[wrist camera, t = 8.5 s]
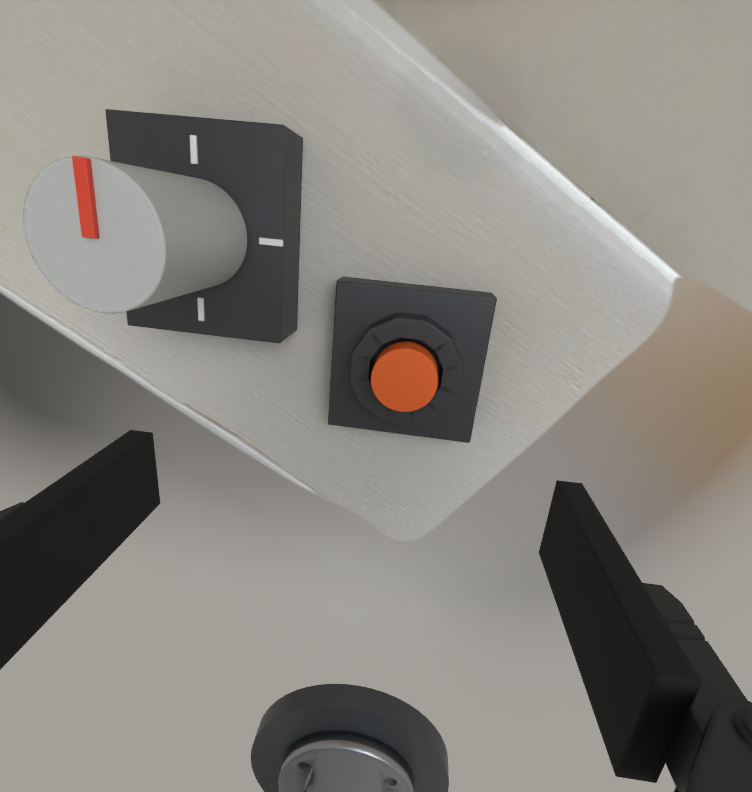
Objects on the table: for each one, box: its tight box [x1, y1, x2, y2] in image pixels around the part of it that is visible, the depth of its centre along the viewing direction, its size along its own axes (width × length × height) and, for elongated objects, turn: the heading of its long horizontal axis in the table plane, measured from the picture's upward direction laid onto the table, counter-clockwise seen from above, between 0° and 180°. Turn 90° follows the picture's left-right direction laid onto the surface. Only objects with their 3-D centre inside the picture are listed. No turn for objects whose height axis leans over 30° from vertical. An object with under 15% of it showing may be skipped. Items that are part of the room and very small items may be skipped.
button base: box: [328, 277, 497, 443], centre depth 30 cm, size 10×10×4 cm
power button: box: [371, 341, 438, 412], centre depth 28 cm, size 4×4×2 cm
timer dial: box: [23, 156, 247, 313], centre depth 22 cm, size 6×6×9 cm
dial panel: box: [106, 109, 303, 343], centre depth 29 cm, size 12×10×4 cm
